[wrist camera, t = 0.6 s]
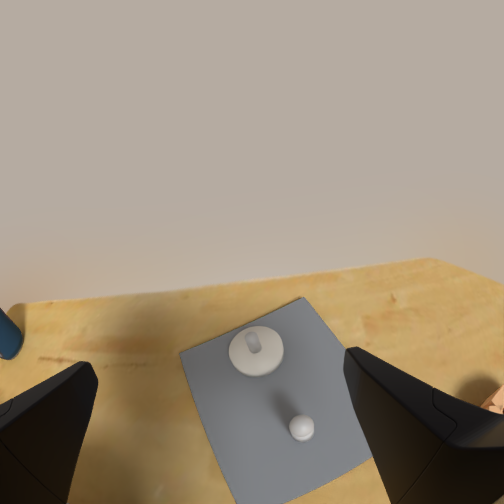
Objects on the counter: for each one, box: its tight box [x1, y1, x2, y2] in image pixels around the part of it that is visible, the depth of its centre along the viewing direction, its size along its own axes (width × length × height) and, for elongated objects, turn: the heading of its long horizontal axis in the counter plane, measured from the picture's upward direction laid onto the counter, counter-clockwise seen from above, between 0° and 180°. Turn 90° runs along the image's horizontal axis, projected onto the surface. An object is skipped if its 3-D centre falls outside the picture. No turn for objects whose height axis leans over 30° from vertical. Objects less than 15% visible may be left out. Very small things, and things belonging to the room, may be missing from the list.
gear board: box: [179, 297, 372, 504], centre depth 21 cm, size 18×15×5 cm
